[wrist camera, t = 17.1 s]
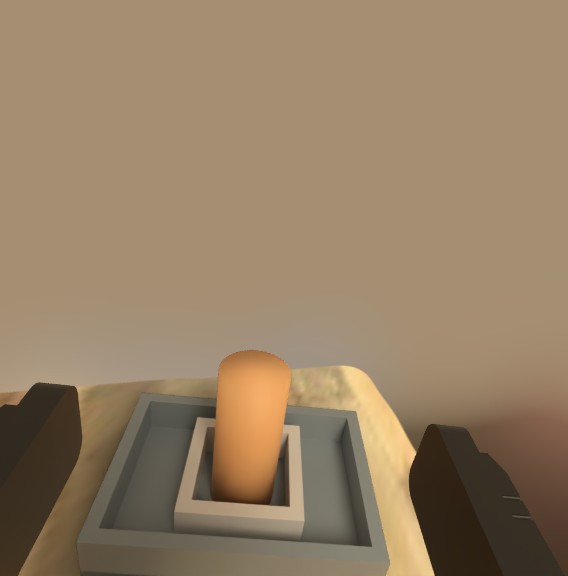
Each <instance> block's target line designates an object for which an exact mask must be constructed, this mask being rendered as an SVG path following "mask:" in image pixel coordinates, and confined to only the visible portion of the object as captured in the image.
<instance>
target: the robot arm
mask: <svg viewBox="0 0 568 576" xmlns="http://www.w3.org/2000/svg"><path fill="white" fill-rule="evenodd" d="M81 444H82V430H81V420H80V410H79V401H78V392H77V389H76V387H75V386H68V385H59V384H49V383H36V384H35V385H33V386H32V387H31V389H30V390H29V391H28V392H27V394H26V395H25V396H24V397H23V399H22V400H21V401H20V403H19V404H18V405H17V406H16V405H6V404H5V405H3V406H2V407H0V576H18V574H19V572H20V570H21V568H22V566H23V564H24V563H25V561H26V559H27V557H28V555H29V553H30V551H31V549H32V547H33V545H34V543H35V541H36V540H37V538H38V536H39V534H40V532H41V530H42V528H43V526H44V524H45V522H46V520H47V518H48V517H49V515H50V513H51V511H52V509H53V507H54V505H55V503H56V501H57V499H58V497H59V495H60V494H61V492H62V490H63V488H64V486H65V484H66V482H67V480H68V478H69V476H70V474H71V472H72V470H73V469H74V467H75V465H76V462H77V460H78V457H79V453H80V449H81ZM409 490H410V496H411V499H412V503H413V506H414V509H415V512H416V516H417V519H418V522H419V525H420V529H421V532H422V535H423V539H424V542H425V545H426V548H427V552H428V555H429V558H430V561H431V565H432V568H433V571H434V574H435V576H565V575H564V574H563V572H562V570H561V568H560V567H559V565H558V563H557V561H556V559H555V558H554V556H553V554H552V552H551V551H550V549H549V547H548V545H547V543H546V542H545V540H544V538H543V536H542V535H541V533H540V531H539V529H538V528H537V526H536V524H535V522H534V521H533V520H531V518H530V516H531V515H530V513H529V512H528V510H527V508H526V506H525V505H524V503H523V501H520V498H519V497H520V496H519V494H518V492H517V490H516V489H515V487H514V485H513V484H512V482H511V480H510V478H509V476H508V474H507V473H506V472H505V471H504V470H503V469H502V468H501V467H500V466H499V465H498V464H497V463H496V462H495V461H494V460H493V459H492V458H491V457H490V455H488V453H480V452H479V451H478V449H477V447H476V445H475V443H474V441H473V439H472V438H471V436H470V434H469V432H468V431H467V430H466V429H465V428H463V427H455V426H446V425H437V424H431V425H429V426H428V427H427V429H426V431H425V433H424V436H423V438H422V441H421V443H420V446H419V449H418V451H417V453H416V456H415V458H414V461H413V463H412V466H411V469H410V473H409Z"/></svg>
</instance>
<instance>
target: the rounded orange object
mask: <svg viewBox="0 0 568 576" xmlns="http://www.w3.org/2000/svg"><path fill="white" fill-rule="evenodd" d="M290 381H291V371H290V368H289V367H288V365H287V364H286V363H285V362H284V361H283V360H282V359H280V358H279V357H277V356H275V355H273V354H270V353H267V352H263V351H256V350H247V351H240V352H237V353H234V354H231V355H229V356H228V357H226V358H225V359H224V360H223V361H222V362H221V364H220V366H219V373H218V389H217V405H216V421H215V437H214V453H213V469H212V485H211V496H212V500H213V501H214V502H228V503H241V504H255V505H268V506H269V504H270V502H271V499H272V495H273V489H274V483H275V476H276V470H277V463H278V457H279V451H280V444H281V438H282V432H283V425H284V419H285V413H286V406H287V400H288V393H289V387H290Z"/></svg>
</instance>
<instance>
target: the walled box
mask: <svg viewBox="0 0 568 576" xmlns="http://www.w3.org/2000/svg"><path fill="white" fill-rule="evenodd" d="M216 405H217V399H209V398H198V397H186V396H175V395H163V394H152V393H142V394H141V396H140V399H139V401H138V403H137V405H136V408H135V410H134V412H133V415H132V417H131V419H130V421H129V424H128V426H127V428H126V430H125V433H124V435H123V437H122V439H121V442H120V444H119V446H118V448H117V451H116V453H115V455H114V457H113V460H112V462H111V464H110V466H109V469H108V471H107V473H106V475H105V478H104V480H103V482H102V485H101V487H100V489H99V491H98V494H97V496H96V498H95V500H94V503H93V505H92V507H91V509H90V512H89V514H88V516H87V518H86V521H85V523H84V525H83V527H82V530H81V532H80V534H79V536H78V539H77V541H76V546H77V553H78V559H79V565H80V572H81V576H386V573H387V571H388V568H389V565H390V560H389V555H388V551H387V546H386V542H385V538H384V533H383V529H382V524H381V520H380V515H379V511H378V507H377V502H376V498H375V493H374V489H373V484H372V480H371V476H370V471H369V467H368V462H367V458H366V453H365V449H364V445H363V440H362V436H361V431H360V427H359V422H358V418H357V414H356V411H346V410H335V409H323V408H312V407H301V406H289V405H287V406H286V413H285V419H284V425H283V432H282V438H281V444H280V451H279V457H278V463H277V470H276V476H275V483H274V489H273V495H272V499H271V502H270V504H269V506H268V505H255V504H241V503H228V502H214V501H213V500H212V496H211V485H212V469H213V453H214V437H215V421H216Z"/></svg>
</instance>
